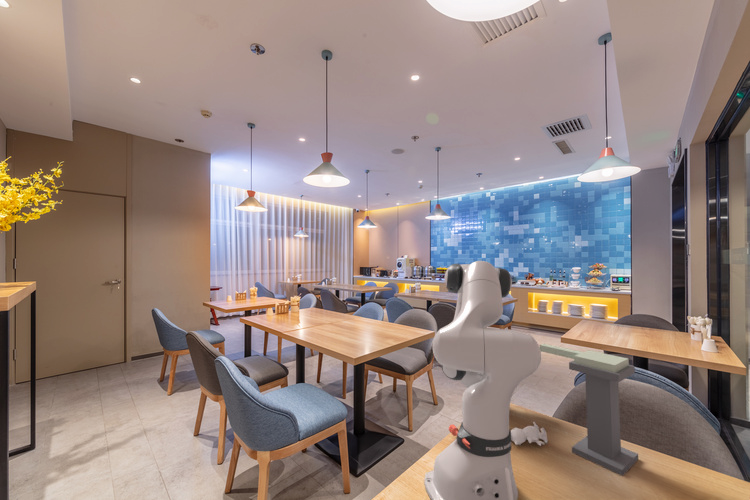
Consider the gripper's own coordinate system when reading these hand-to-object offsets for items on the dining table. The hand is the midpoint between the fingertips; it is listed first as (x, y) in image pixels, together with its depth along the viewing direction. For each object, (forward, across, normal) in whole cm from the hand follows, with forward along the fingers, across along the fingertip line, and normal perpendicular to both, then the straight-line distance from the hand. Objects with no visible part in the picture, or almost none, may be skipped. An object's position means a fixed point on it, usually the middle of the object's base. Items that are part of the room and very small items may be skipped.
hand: (522, 360), depth 108 cm
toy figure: (-4, -11, +22) cm, 25 cm away
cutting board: (+18, 0, +5) cm, 19 cm away
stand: (+11, 0, +30) cm, 32 cm away
